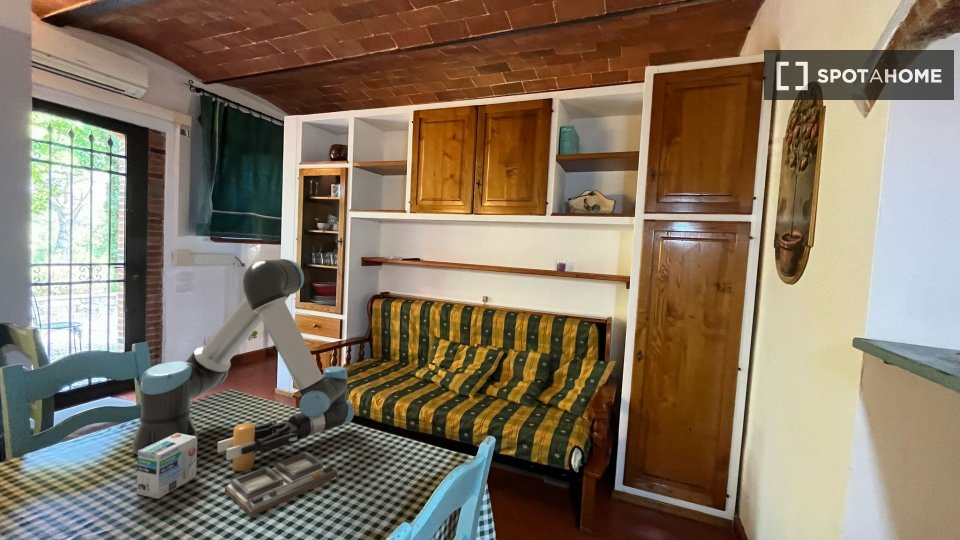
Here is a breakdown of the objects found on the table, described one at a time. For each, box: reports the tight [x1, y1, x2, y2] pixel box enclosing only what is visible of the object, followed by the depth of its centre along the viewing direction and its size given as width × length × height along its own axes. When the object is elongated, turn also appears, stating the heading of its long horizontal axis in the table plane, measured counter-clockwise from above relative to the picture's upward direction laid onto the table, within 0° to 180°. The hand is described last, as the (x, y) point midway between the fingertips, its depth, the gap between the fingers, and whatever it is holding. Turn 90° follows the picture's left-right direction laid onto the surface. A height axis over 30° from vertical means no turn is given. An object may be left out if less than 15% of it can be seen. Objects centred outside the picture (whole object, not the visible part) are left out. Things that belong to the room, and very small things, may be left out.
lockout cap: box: [232, 422, 256, 472], centre depth 113 cm, size 5×5×11 cm
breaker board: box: [224, 451, 338, 517], centre depth 106 cm, size 14×22×3 cm, turn 142°
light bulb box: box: [136, 433, 198, 500], centre depth 103 cm, size 11×7×11 cm, turn 168°
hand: (222, 450), depth 109 cm, fingers closed on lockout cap, 5 cm apart
